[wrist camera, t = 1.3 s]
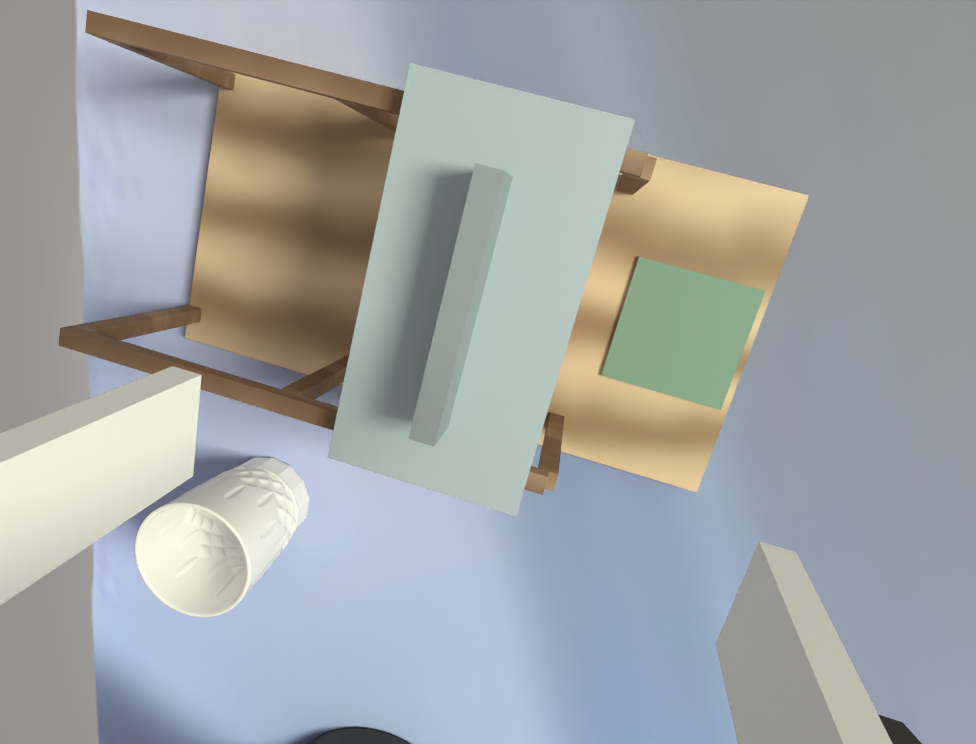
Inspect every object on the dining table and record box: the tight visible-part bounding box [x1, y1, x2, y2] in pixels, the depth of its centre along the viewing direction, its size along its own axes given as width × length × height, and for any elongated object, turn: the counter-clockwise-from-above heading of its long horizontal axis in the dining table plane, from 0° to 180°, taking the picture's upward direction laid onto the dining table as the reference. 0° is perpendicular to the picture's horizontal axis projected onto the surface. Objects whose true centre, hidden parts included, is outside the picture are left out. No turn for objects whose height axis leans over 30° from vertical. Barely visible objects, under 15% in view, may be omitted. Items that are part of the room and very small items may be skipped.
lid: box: [328, 63, 635, 516], centre depth 28 cm, size 19×10×4 cm, turn 165°
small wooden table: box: [59, 10, 809, 495], centre depth 36 cm, size 20×38×13 cm, turn 75°
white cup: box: [135, 457, 309, 617], centre depth 44 cm, size 8×8×10 cm
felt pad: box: [601, 257, 765, 410], centre depth 40 cm, size 8×8×1 cm
